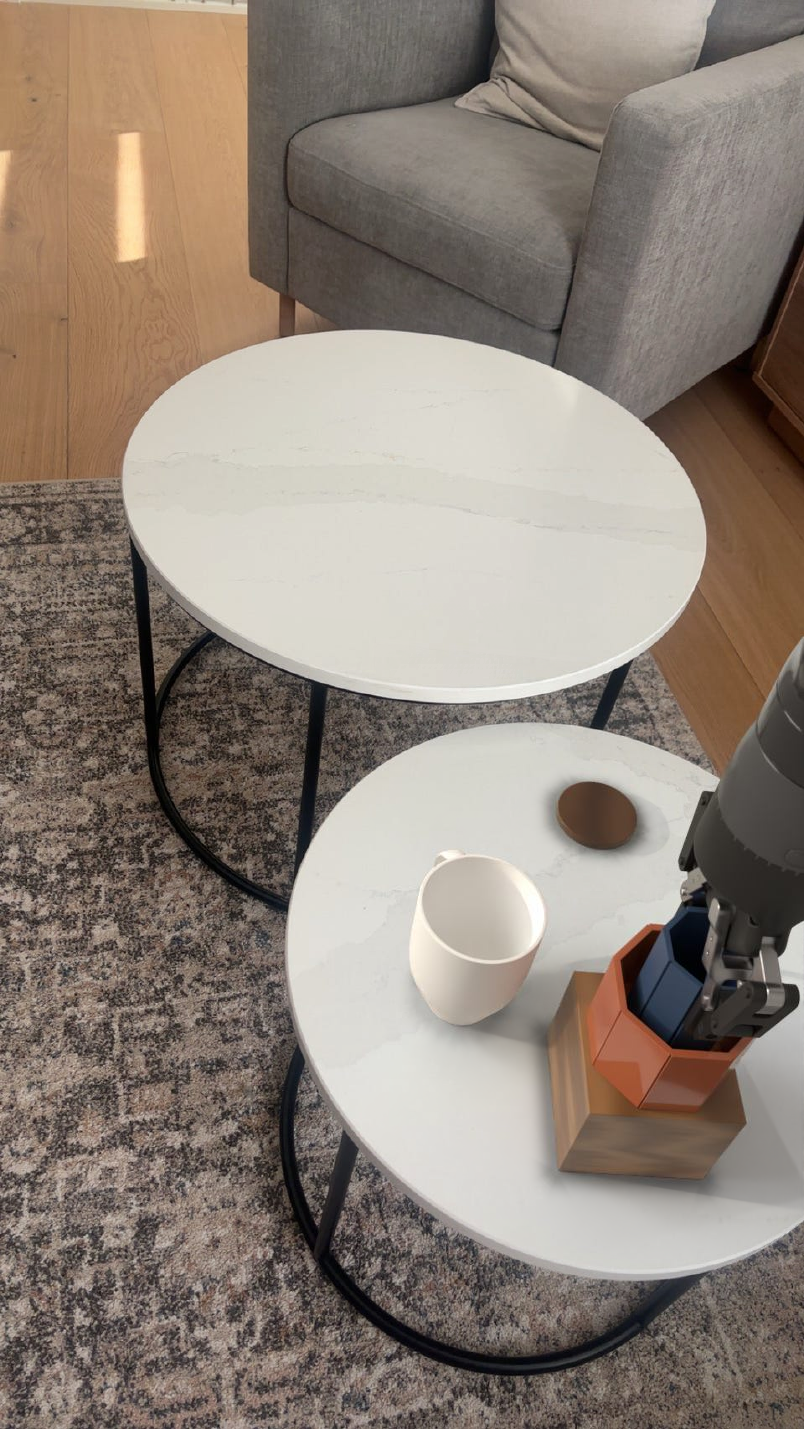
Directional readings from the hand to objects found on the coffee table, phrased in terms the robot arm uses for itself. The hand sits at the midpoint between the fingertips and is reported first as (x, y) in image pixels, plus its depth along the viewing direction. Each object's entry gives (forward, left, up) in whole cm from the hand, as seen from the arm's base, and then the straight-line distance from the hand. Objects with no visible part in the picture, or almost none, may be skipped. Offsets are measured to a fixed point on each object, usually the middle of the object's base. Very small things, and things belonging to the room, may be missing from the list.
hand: (691, 983), depth 65 cm
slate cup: (0, 0, -7) cm, 7 cm away
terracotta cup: (0, 0, -7) cm, 7 cm away
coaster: (-1, -26, -16) cm, 31 cm away
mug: (+12, -9, -17) cm, 22 cm away
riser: (0, 0, -16) cm, 16 cm away
